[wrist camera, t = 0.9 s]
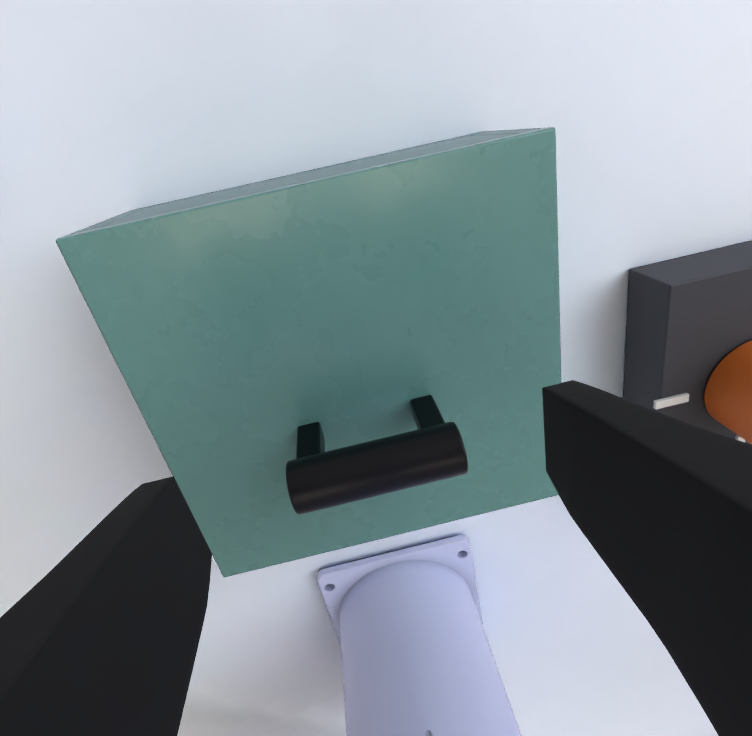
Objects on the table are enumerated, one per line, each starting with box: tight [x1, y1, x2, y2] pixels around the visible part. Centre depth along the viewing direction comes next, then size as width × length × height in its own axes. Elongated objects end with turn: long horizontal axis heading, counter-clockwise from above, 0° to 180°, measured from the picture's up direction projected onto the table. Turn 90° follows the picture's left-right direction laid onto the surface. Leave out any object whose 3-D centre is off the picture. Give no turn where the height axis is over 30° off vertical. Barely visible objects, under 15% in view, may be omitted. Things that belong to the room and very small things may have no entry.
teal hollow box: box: [71, 128, 541, 234], centre depth 17 cm, size 11×12×5 cm
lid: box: [56, 127, 561, 577], centre depth 13 cm, size 12×12×4 cm
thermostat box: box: [624, 241, 752, 445], centre depth 20 cm, size 10×8×3 cm
